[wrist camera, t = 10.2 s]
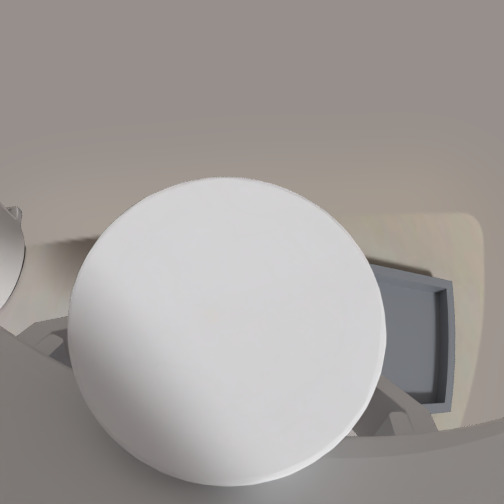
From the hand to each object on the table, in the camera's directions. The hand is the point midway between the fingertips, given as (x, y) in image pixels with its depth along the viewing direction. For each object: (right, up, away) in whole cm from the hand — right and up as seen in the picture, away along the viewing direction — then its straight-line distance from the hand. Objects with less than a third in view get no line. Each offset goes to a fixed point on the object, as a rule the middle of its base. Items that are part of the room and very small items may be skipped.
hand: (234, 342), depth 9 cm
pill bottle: (0, -3, +4) cm, 5 cm away
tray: (+14, -6, +15) cm, 21 cm away
